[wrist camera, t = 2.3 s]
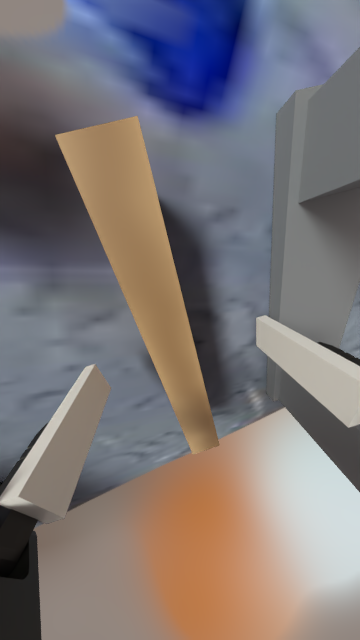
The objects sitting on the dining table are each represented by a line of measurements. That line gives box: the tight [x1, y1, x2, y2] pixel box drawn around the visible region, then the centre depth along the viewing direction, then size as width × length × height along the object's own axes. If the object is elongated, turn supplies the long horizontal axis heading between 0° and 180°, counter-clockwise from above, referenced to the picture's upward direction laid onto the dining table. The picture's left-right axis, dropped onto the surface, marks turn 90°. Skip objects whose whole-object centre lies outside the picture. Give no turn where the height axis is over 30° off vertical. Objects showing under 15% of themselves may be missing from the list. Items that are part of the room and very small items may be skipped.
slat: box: [55, 116, 219, 454], centre depth 13 cm, size 3×24×6 cm, turn 15°
